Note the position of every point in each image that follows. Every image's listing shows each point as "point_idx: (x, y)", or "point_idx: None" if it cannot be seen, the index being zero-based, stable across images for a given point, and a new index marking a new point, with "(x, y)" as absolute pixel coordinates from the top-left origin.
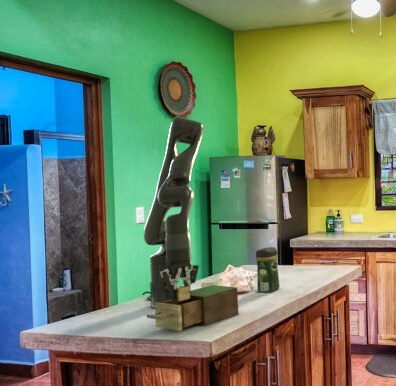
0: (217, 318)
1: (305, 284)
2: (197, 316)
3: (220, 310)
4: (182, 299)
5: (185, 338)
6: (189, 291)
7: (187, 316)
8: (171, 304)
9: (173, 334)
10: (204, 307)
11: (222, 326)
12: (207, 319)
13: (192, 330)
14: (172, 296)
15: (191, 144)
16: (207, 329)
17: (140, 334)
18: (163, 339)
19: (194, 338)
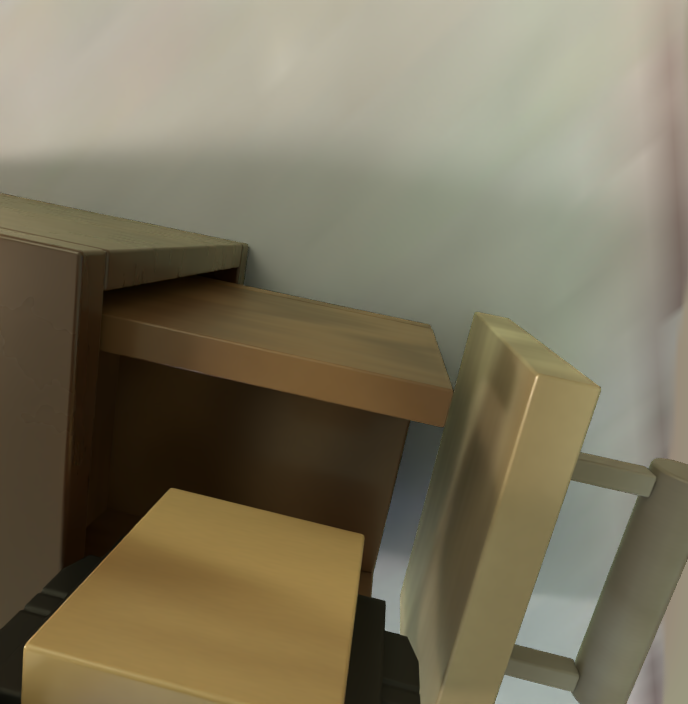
0: (95, 214)
1: None
2: (264, 302)
3: (3, 201)
4: (309, 530)
5: (623, 153)
6: (108, 562)
7: (391, 333)
8: (501, 569)
9: None
10: (169, 246)
11: (224, 48)
12: (201, 237)
13: (391, 266)
14: (416, 698)
15: None
16: (338, 137)
17: (555, 623)
18: (667, 346)
19: (616, 56)
